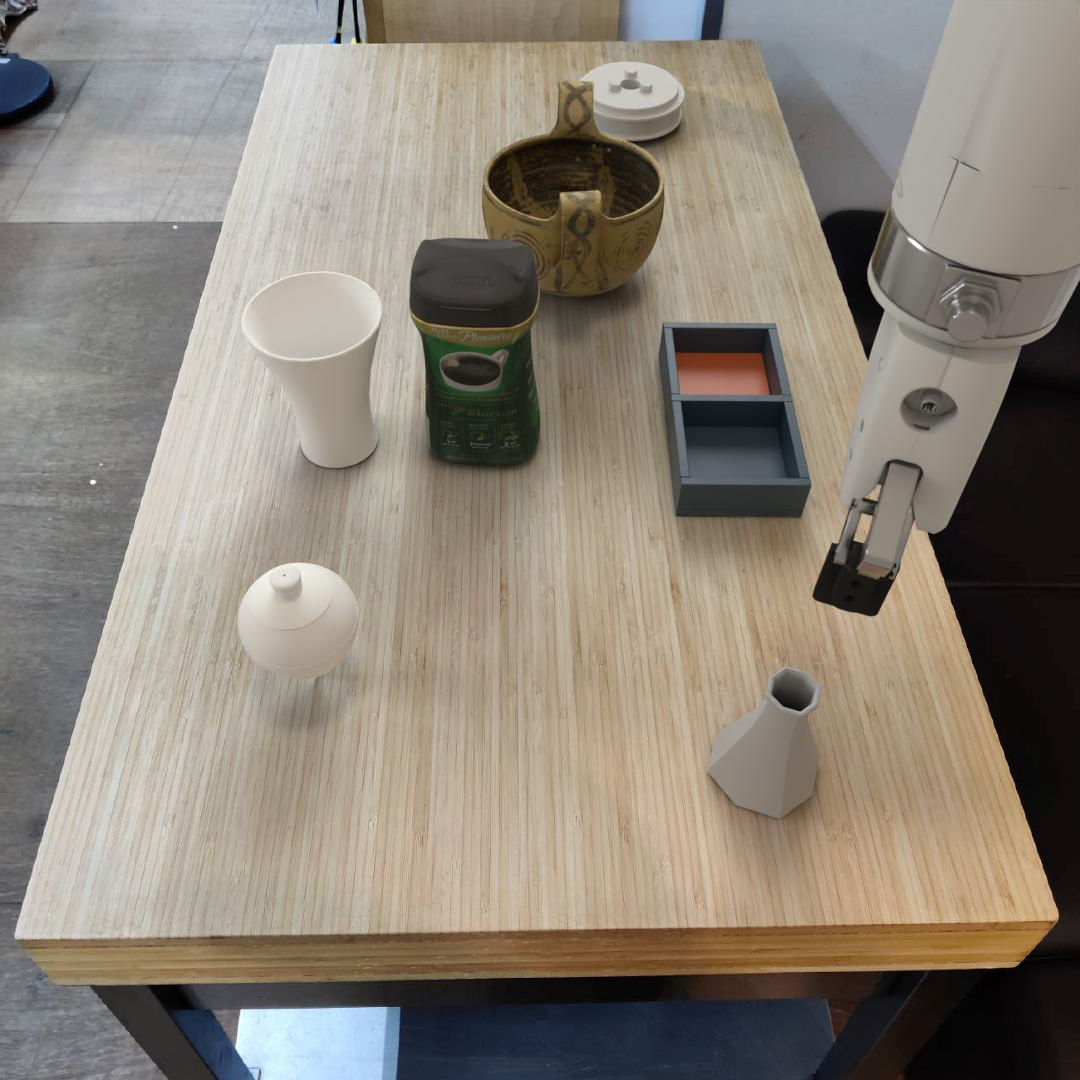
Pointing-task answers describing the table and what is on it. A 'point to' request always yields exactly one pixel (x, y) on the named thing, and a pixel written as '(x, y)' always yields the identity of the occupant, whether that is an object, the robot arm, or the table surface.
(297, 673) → the spinning top
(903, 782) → the table surface
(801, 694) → the flask
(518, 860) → the table surface
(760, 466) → the divided tray
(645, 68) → the lid
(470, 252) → the coffee jar
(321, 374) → the cup
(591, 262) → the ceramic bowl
